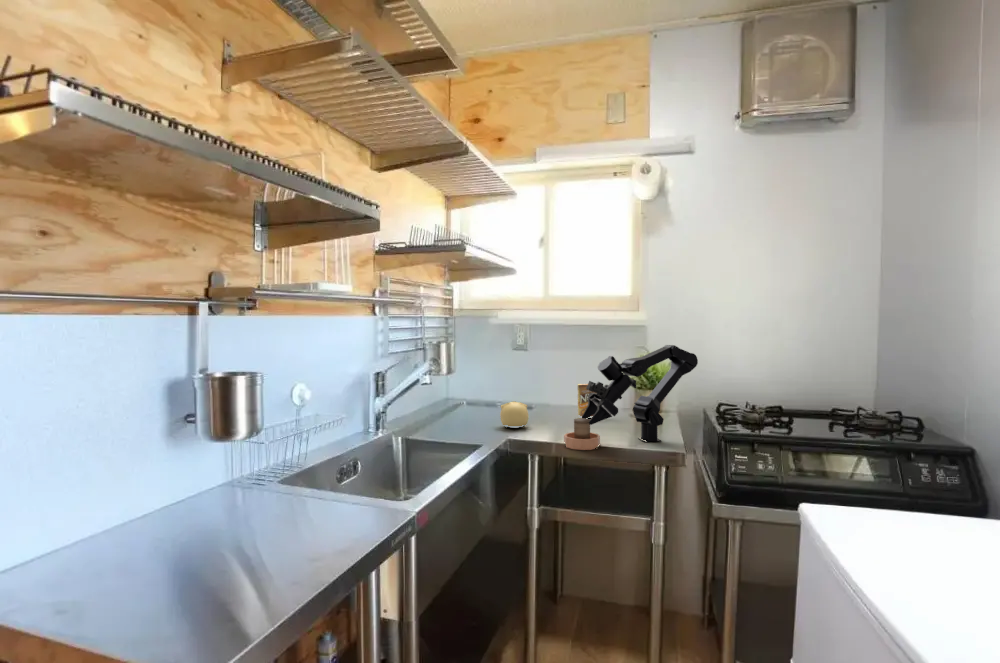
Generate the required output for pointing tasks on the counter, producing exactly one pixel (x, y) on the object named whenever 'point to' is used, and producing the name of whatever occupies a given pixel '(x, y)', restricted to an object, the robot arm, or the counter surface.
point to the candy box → (582, 398)
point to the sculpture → (514, 414)
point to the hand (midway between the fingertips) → (585, 421)
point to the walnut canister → (581, 428)
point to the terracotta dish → (581, 442)
